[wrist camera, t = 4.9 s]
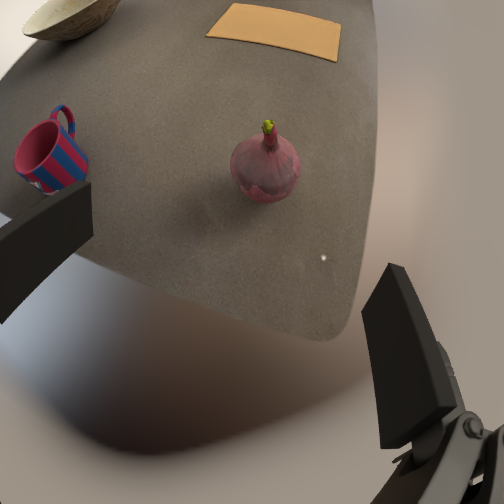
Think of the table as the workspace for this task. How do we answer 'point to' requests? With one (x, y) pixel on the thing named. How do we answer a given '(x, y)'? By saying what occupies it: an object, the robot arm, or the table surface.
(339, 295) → the table surface
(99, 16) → the bowl
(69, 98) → the table surface
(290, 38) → the cork mat
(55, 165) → the cup
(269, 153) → the vegetable
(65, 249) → the robot arm
